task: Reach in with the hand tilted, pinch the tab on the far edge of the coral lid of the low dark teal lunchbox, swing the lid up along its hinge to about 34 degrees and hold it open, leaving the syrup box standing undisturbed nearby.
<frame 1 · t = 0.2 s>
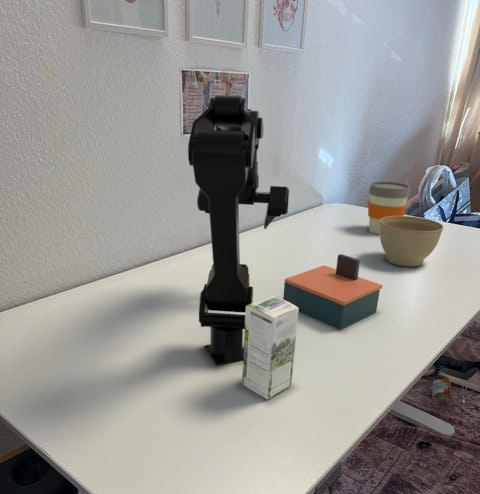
hand: (244, 226, 107), 15 cm above the table, tool tilted 30°, fingers open, 9 cm apart
planter bowl: (404, 262, 132), on the table
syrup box: (267, 387, 77), on the table
lunchbox: (328, 308, 104), on the table
reusable coffee cup: (382, 231, 159), on the table
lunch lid: (334, 273, 100), point 8 cm above the table, hinge at 0.0°
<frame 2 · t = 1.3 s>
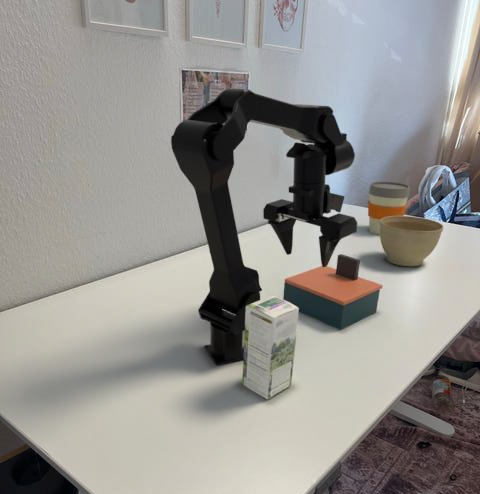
hand: (306, 260, 95), 12 cm above the table, tool pointing down, fingers open, 9 cm apart
nothing on the table moved.
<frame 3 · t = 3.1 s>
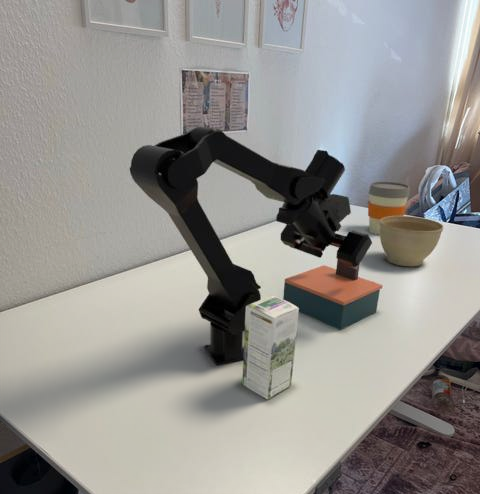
hand: (338, 261, 100), 10 cm above the table, tool tilted 45°, fingers open, 9 cm apart
nothing on the table moved.
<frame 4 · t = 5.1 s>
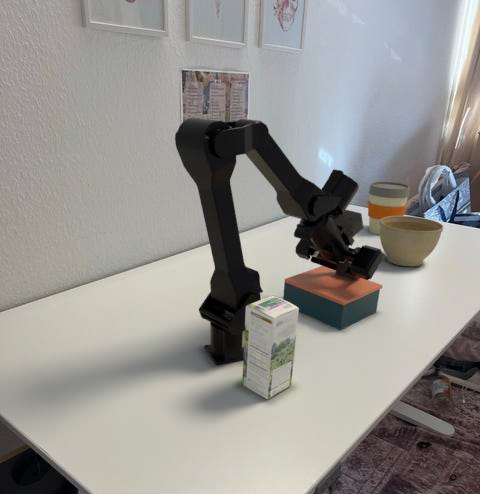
hand: (350, 273, 105), 7 cm above the table, tool tilted 45°, fingers closed on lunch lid, 5 cm apart
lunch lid: (334, 273, 100), point 8 cm above the table, hinge at 0.0°, touching gripper
everything else where it was.
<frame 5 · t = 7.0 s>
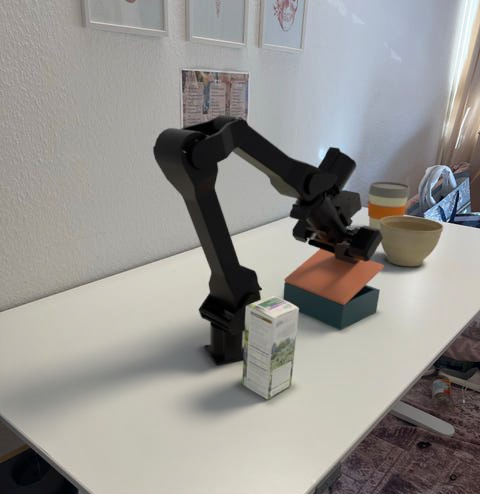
hand: (349, 256, 102), 11 cm above the table, tool tilted 45°, fingers closed on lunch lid, 5 cm apart
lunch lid: (331, 265, 99), point 10 cm above the table, hinge at 20.9°, touching gripper
everything else where it was.
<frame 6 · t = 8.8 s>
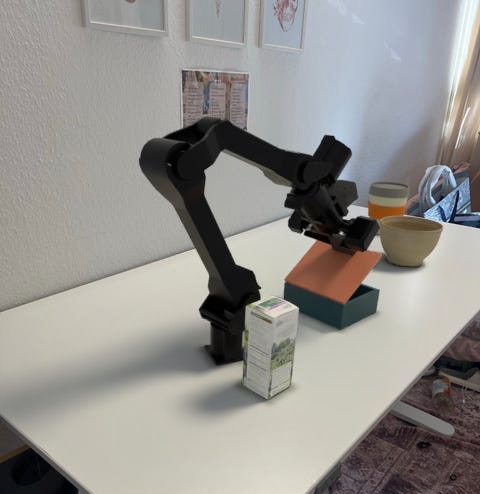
hand: (346, 247, 100), 13 cm above the table, tool tilted 45°, fingers closed on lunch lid, 5 cm apart
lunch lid: (328, 261, 97), point 11 cm above the table, hinge at 33.9°, touching gripper
everything else where it was.
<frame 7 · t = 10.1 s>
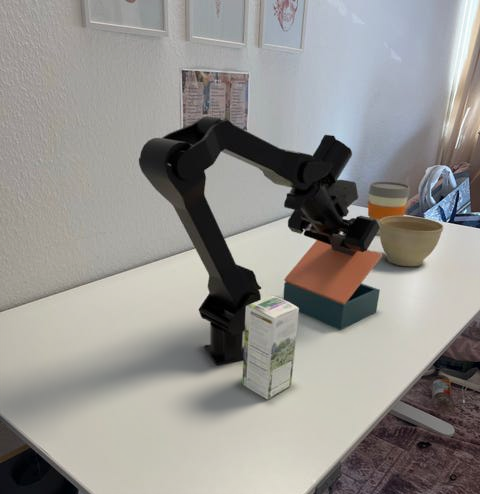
hand: (346, 247, 100), 13 cm above the table, tool tilted 45°, fingers closed on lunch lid, 5 cm apart
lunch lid: (328, 261, 97), point 11 cm above the table, hinge at 33.9°, touching gripper
everything else where it was.
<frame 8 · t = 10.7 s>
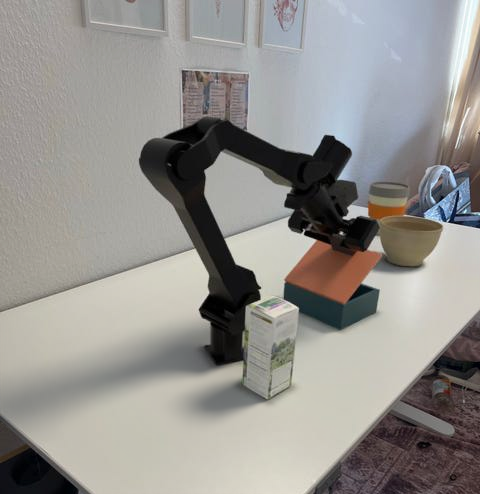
hand: (346, 247, 100), 13 cm above the table, tool tilted 45°, fingers closed on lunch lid, 5 cm apart
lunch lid: (328, 261, 97), point 11 cm above the table, hinge at 33.9°, touching gripper
everything else where it was.
at the end: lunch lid at +34° (first picture: +0°); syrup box moved 0.2 cm from its start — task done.
